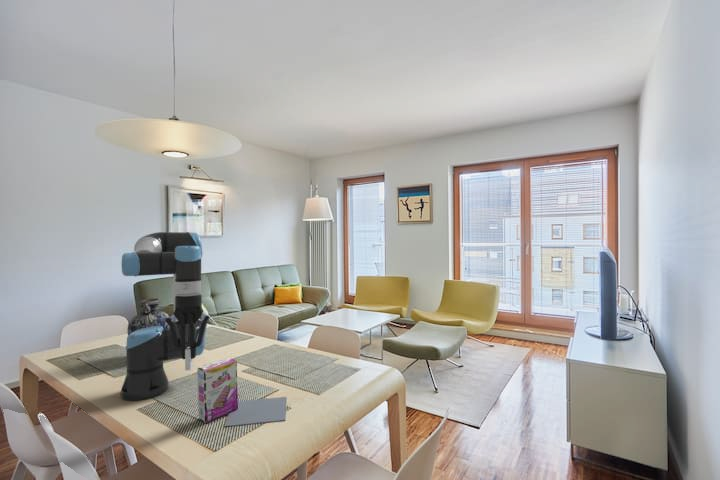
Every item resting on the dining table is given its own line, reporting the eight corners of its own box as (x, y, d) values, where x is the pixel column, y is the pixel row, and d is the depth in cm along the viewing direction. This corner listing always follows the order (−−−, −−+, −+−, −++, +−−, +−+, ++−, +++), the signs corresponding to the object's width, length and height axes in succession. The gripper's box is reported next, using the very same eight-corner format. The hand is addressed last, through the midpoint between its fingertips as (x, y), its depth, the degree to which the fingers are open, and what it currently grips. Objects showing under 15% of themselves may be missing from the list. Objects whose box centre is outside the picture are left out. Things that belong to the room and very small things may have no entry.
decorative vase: (169, 361, 160) (168, 301, 160) (122, 367, 153) (121, 305, 153) (175, 348, 180) (174, 295, 180) (134, 353, 173) (132, 298, 173)
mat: (224, 427, 103) (224, 426, 103) (233, 402, 119) (233, 401, 119) (285, 420, 106) (285, 419, 106) (286, 397, 122) (286, 396, 122)
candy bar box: (206, 424, 104) (203, 370, 104) (198, 419, 108) (196, 367, 107) (239, 409, 113) (237, 359, 113) (231, 405, 116) (229, 356, 116)
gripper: (161, 296, 104) (162, 375, 103) (207, 295, 106) (208, 371, 106) (170, 293, 111) (170, 366, 111) (213, 291, 114) (213, 363, 113)
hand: (189, 368), depth 108 cm, fingers closed
